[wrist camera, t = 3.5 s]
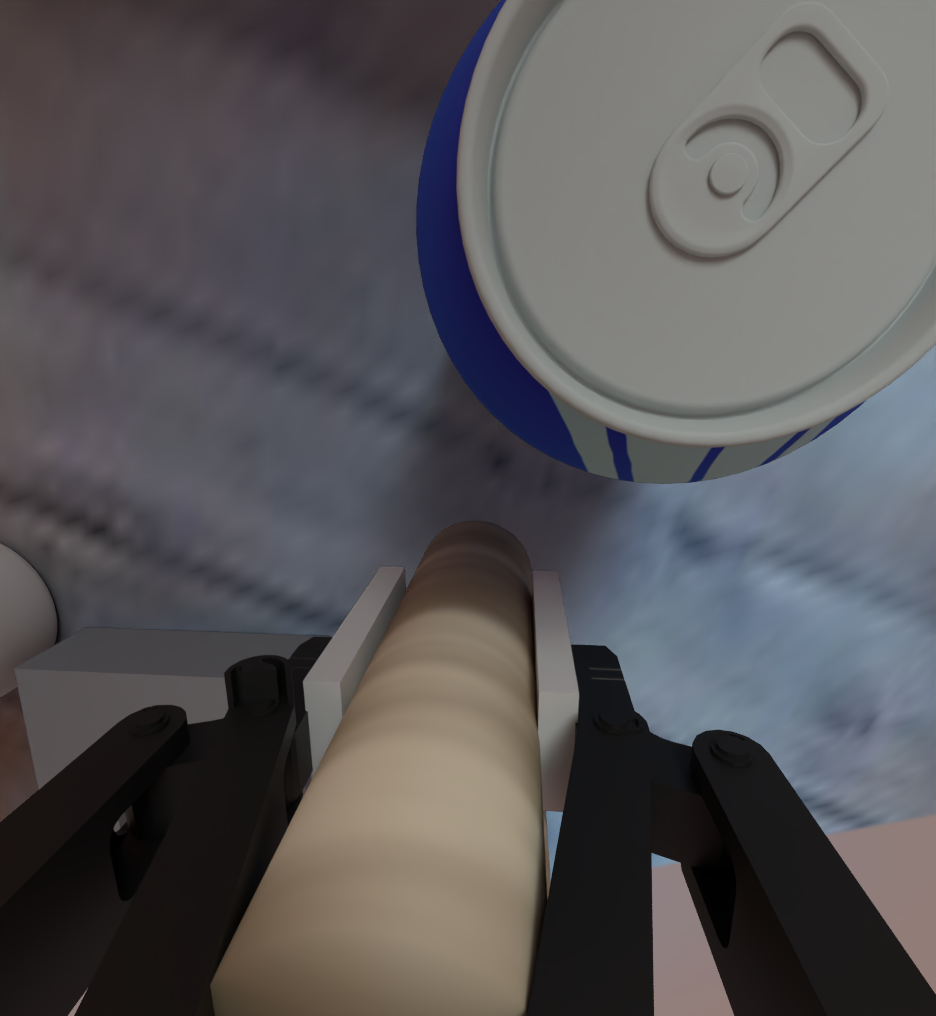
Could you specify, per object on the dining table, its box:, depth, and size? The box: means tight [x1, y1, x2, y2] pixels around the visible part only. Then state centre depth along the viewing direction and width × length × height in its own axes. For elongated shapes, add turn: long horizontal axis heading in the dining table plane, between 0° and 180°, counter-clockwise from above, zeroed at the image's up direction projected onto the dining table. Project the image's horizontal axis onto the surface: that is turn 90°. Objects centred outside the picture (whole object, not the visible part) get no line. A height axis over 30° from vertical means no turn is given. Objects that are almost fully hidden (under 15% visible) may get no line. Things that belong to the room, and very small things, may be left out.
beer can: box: [416, 0, 936, 484], centre depth 14 cm, size 8×8×16 cm
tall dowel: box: [210, 521, 547, 1016], centre depth 13 cm, size 4×4×15 cm
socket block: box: [14, 627, 330, 832], centre depth 26 cm, size 12×12×4 cm
